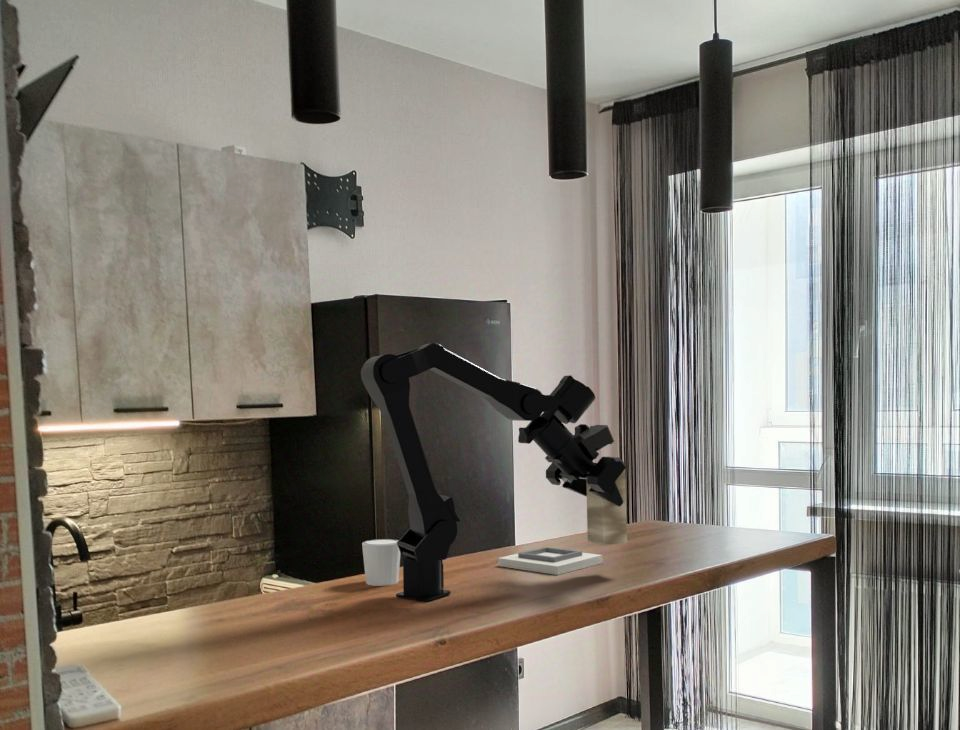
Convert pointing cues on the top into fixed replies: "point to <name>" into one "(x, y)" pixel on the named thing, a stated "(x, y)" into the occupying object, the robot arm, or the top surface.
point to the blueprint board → (550, 560)
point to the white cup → (381, 562)
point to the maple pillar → (607, 517)
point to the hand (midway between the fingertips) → (612, 502)
